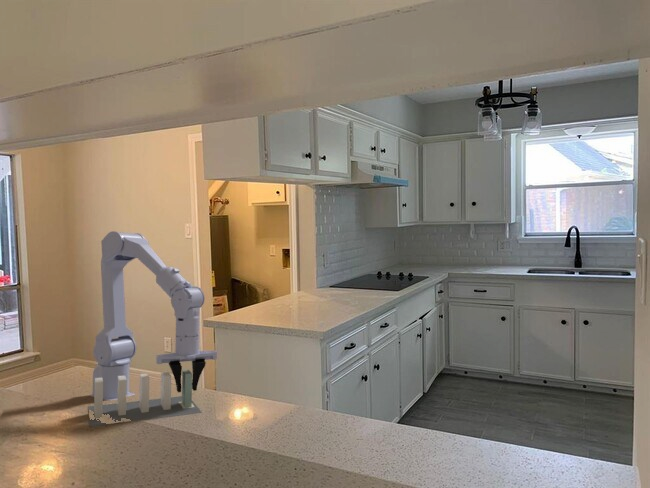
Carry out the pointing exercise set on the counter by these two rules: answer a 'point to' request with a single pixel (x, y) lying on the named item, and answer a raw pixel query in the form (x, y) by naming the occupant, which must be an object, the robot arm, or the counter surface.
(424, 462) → the counter surface
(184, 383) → the domino
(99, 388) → the domino
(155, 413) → the mat
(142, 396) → the domino
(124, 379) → the domino
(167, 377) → the domino
